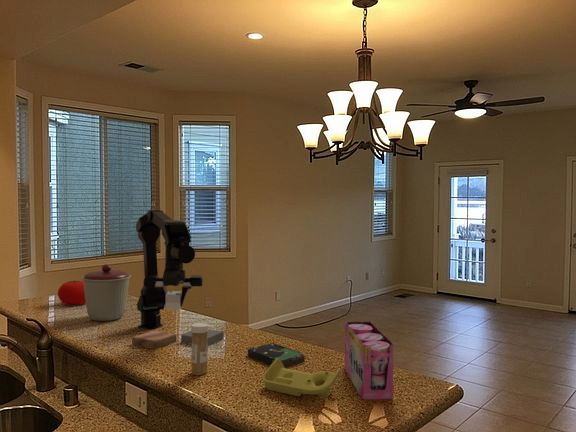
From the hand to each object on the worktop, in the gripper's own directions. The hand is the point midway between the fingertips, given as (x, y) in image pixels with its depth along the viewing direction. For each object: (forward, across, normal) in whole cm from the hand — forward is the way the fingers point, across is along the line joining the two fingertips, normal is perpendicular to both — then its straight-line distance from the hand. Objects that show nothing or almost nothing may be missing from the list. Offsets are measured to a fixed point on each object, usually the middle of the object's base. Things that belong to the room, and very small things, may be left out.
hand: (173, 306), depth 165 cm
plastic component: (+12, +38, -43) cm, 59 cm away
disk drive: (+12, +33, -18) cm, 39 cm away
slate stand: (+12, +10, +1) cm, 15 cm away
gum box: (+12, +56, -38) cm, 68 cm away
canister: (+12, -30, +32) cm, 46 cm away
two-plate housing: (0, 0, 0) cm, 0 cm away
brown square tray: (+12, -6, -1) cm, 13 cm away
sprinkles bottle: (+12, +11, -29) cm, 33 cm away
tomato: (+13, -50, +57) cm, 77 cm away
